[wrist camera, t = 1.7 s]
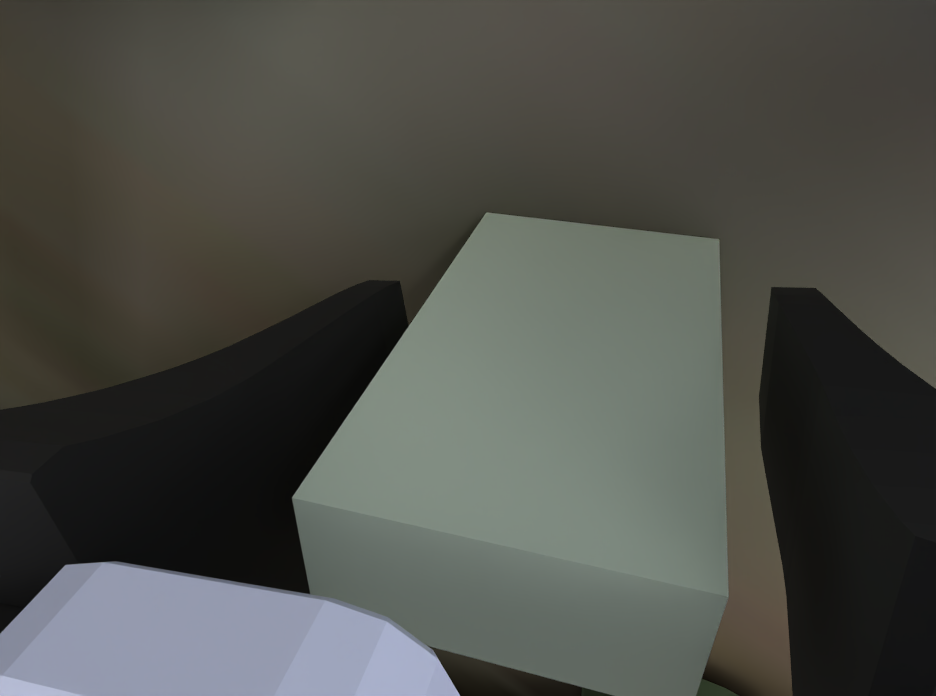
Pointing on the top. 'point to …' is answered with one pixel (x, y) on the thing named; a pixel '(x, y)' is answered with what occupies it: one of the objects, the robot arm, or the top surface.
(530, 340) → the end domino
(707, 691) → the character mug
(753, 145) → the top surface
